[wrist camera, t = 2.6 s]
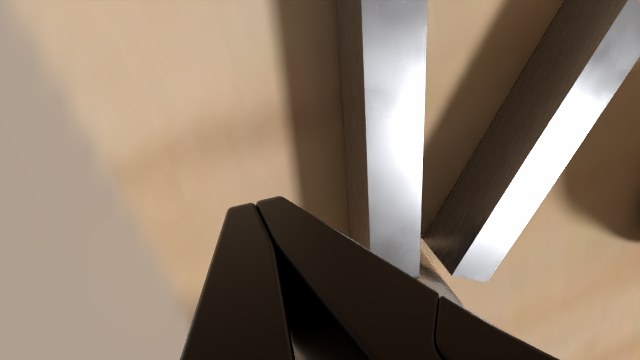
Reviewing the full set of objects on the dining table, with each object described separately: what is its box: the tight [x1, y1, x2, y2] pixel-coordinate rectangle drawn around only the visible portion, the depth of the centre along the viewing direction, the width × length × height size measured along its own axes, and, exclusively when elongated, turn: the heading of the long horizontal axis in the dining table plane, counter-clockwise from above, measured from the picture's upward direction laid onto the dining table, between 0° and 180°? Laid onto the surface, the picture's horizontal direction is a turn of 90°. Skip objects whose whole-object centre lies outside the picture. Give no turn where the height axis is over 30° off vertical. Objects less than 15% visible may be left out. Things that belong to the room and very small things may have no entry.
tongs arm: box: [336, 0, 428, 279], centre depth 21 cm, size 17×2×3 cm, turn 5°
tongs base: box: [417, 0, 640, 307], centre depth 24 cm, size 23×5×4 cm, turn 155°
